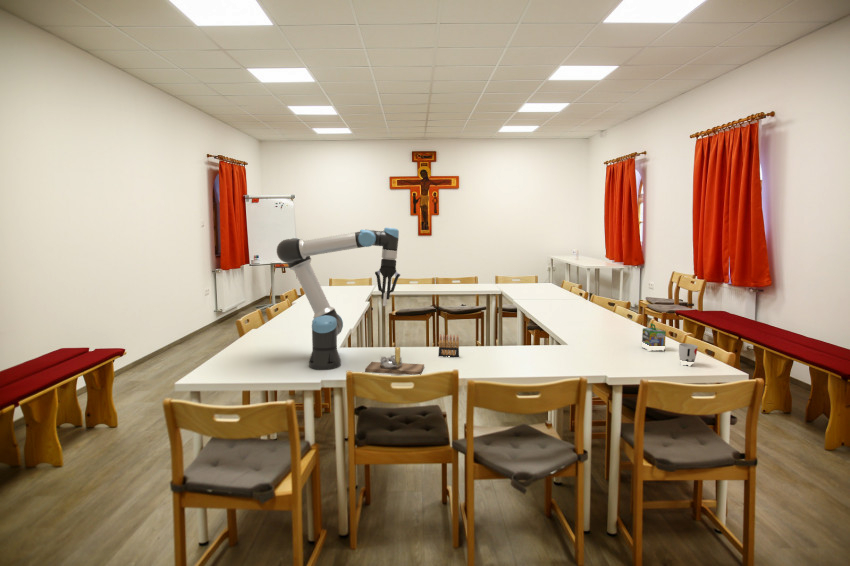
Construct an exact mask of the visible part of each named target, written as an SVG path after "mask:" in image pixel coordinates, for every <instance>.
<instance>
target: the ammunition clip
mask: <svg viewBox="0 0 850 566" xmlns="http://www.w3.org/2000/svg"><path fill="white" fill-rule="evenodd" d="M459 340H460V339H459V335H458V334H456V336H455V334H453V336H452V334H450V335H449V334H448V333H447V334H446V335H445V334H443V335H442V333H441V334H439V341H438V356H437V357H439V356H447V357H446V358H454V357H459V358H460V342H459ZM448 356H450V357H448Z"/></svg>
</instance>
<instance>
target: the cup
mask: <svg viewBox="0 0 850 566" xmlns="http://www.w3.org/2000/svg"><path fill="white" fill-rule="evenodd" d="M697 353H698V345H695V344H694V343H693V344H691V343H685V342H684V343H683V342H681V343H679V344H678V358H679V361H680V360H682V361H687V362H694V363H695V360H696V357H697Z"/></svg>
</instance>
